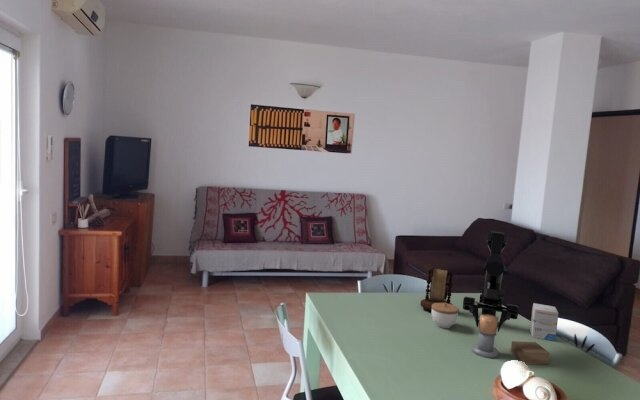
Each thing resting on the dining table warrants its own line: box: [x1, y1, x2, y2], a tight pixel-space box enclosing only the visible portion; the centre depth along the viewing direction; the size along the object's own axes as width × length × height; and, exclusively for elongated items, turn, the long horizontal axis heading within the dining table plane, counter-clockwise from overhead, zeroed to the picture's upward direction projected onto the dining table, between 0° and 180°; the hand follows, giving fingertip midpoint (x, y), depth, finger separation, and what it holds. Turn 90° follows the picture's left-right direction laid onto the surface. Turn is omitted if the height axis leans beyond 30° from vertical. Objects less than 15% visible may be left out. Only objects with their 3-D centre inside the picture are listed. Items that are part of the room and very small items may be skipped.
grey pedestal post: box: [471, 330, 500, 359], centre depth 162 cm, size 9×9×8 cm
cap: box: [478, 314, 499, 335], centre depth 161 cm, size 8×6×5 cm
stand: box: [510, 340, 551, 365], centre depth 160 cm, size 9×9×4 cm
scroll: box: [420, 264, 454, 311], centre depth 204 cm, size 15×15×20 cm
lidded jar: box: [430, 303, 460, 329], centre depth 186 cm, size 11×11×9 cm
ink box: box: [529, 302, 559, 342], centre depth 183 cm, size 9×8×12 cm
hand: (487, 329), depth 160 cm, fingers open, 7 cm apart
